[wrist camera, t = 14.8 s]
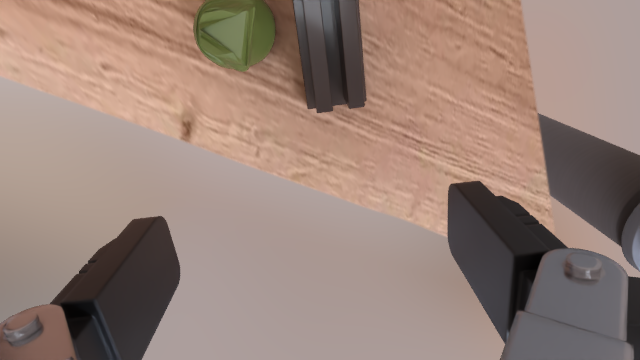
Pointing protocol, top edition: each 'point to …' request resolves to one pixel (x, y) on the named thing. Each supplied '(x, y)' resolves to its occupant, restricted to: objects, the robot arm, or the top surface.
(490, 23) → the top surface
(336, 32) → the holder
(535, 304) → the robot arm
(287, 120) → the top surface
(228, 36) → the pear
